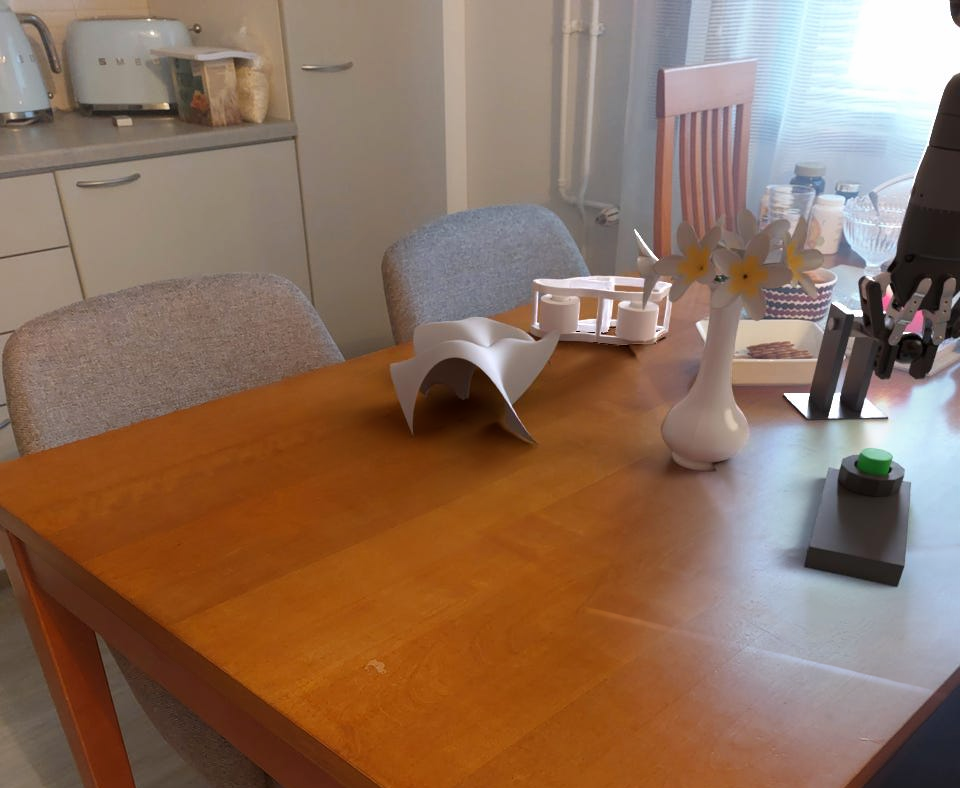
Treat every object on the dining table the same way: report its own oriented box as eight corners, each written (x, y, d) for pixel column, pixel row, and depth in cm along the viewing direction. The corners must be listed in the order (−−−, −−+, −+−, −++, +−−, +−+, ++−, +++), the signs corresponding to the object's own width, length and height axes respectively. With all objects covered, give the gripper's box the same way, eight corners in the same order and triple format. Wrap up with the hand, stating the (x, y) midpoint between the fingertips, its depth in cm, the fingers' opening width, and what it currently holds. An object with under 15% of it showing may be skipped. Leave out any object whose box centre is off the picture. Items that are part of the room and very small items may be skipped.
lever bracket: (885, 426, 110) (918, 318, 103) (805, 428, 109) (832, 318, 102) (857, 401, 117) (885, 297, 109) (781, 402, 116) (804, 298, 108)
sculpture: (419, 361, 125) (418, 286, 119) (559, 369, 123) (564, 295, 118) (382, 434, 105) (378, 349, 99) (548, 445, 103) (554, 359, 98)
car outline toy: (524, 342, 133) (527, 289, 128) (536, 320, 141) (539, 270, 137) (664, 355, 129) (672, 301, 125) (668, 331, 138) (675, 280, 134)
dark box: (824, 483, 97) (833, 448, 95) (905, 498, 95) (916, 462, 92) (803, 567, 83) (813, 528, 81) (897, 587, 81) (910, 547, 78)
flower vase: (602, 436, 106) (627, 199, 91) (760, 437, 107) (810, 202, 92) (620, 488, 95) (652, 228, 81) (796, 488, 96) (859, 231, 81)
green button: (857, 461, 93) (861, 445, 92) (888, 467, 92) (893, 451, 91) (855, 473, 91) (859, 456, 90) (887, 479, 90) (892, 462, 89)
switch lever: (925, 367, 96) (933, 335, 94) (896, 367, 96) (903, 336, 94) (860, 335, 109) (866, 306, 107) (834, 335, 108) (840, 307, 107)
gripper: (899, 207, 84) (850, 390, 94) (1043, 208, 86) (980, 389, 96) (863, 192, 90) (821, 365, 100) (998, 193, 92) (943, 364, 102)
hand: (899, 376), depth 98 cm, fingers closed on switch lever, 3 cm apart
